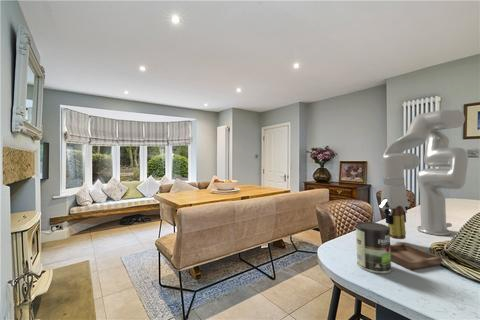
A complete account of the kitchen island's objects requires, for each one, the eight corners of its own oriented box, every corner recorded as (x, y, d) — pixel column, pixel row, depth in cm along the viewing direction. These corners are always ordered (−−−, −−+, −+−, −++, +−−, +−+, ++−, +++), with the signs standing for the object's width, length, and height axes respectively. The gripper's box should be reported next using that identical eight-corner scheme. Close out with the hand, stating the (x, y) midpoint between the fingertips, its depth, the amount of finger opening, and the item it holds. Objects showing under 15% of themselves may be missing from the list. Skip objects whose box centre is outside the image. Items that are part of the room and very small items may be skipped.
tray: (403, 249, 89) (403, 243, 89) (442, 264, 76) (442, 257, 76) (375, 253, 86) (375, 247, 86) (410, 270, 72) (410, 263, 72)
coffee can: (397, 268, 74) (396, 227, 74) (380, 277, 69) (378, 232, 69) (368, 257, 83) (366, 220, 83) (350, 263, 78) (349, 224, 78)
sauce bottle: (400, 234, 99) (398, 191, 99) (409, 239, 93) (407, 193, 93) (384, 235, 100) (382, 191, 99) (393, 240, 93) (390, 194, 93)
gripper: (401, 180, 102) (403, 218, 102) (370, 183, 98) (372, 222, 98) (417, 181, 94) (419, 222, 95) (385, 184, 90) (387, 227, 90)
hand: (395, 222), depth 96 cm, fingers closed on sauce bottle, 6 cm apart
